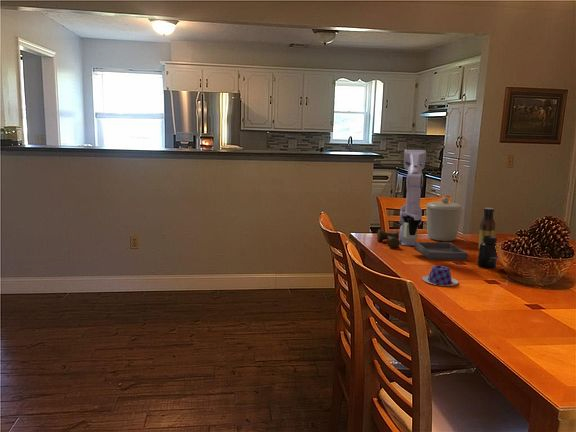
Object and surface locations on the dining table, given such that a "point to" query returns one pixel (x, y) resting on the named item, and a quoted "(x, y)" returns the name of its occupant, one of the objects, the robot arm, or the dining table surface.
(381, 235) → the kendama
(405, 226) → the beige block
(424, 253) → the tray
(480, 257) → the supplement bottle
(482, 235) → the sauce bottle
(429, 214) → the canister
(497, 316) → the dining table surface
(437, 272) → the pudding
